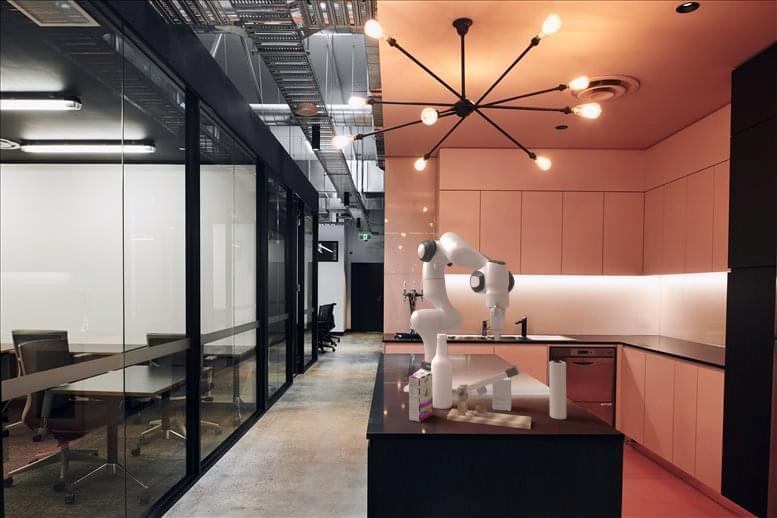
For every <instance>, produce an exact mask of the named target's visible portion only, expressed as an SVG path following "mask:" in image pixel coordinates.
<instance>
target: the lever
mask: <svg viewBox="0 0 777 518" xmlns="http://www.w3.org/2000/svg"><path fill="white" fill-rule="evenodd" d="M519 374H520V370H519V368H518V367H517V365H512V366H509V367H507V368H505V371H503V372H500V373H497V374H494V375H492V376H489V377H487V378H484V379H481V380H479V381H476V382H474V383H472V384H467V385H468V386H466V393H468V394H469V393H471V392H473V391H476V392H477V395H478V397H480V396H483V395H485V394H487V393H488V389H487V386H489V385H492V383H495V382H497V381H500V380H503V379H505V378H510V377H511V378H513V377H515V376H517V375H519Z"/></svg>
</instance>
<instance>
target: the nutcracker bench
mask: <svg viewBox="0 0 777 518" xmlns="http://www.w3.org/2000/svg"><path fill="white" fill-rule="evenodd" d="M468 385H469V384H463V383H459V386H457V387H456V388H457V391H456V393H457V395H456V396H457V397H456V398H457V401H456V403H457V408H451V409H450V411H449V412H448V414H447V415H446V420H448V421H453V422H454V421H456V422H463V423H464V422H465V423H473V424H481V425H490V426H499V427H506V428H507V427H508V428H516V429H517V428H518V429H525V430H527V429H528V430H531V425H532V417H531V416H525V415H524V416H523V415H516V414H507V413H498V412H497V413H496V412H489V411H488V410H487V406H486V405H485V404H484V403H482V402H481V403H477V404H476V406H475V409H474V410H469V409H468V408H469V407H468V406H469V403H468V402H469V399H468V398H469V397H468V395H469V392H468V393H466V386H468Z"/></svg>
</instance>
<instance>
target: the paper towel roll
mask: <svg viewBox="0 0 777 518" xmlns="http://www.w3.org/2000/svg"><path fill="white" fill-rule="evenodd" d="M548 362H549V363H548V364H549V367H548V368H549V370H548V371H549V376H548V377H549V379H548V381H549V387H548V389H549V417H550V418H551V419H556V420H566V419H567V362H565V361H562V360H550V361H548Z"/></svg>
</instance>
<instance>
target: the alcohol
mask: <svg viewBox="0 0 777 518" xmlns="http://www.w3.org/2000/svg"><path fill="white" fill-rule="evenodd" d="M447 346H448V344H447V333H437V350H436V356H435V357H434V359H433V360H432V363H431V373H432V388H433V391H432V392H433V409H438V410H447V409H450V408H451V409H452V406H453V362H452V360H451V358H450V357H449V354H448V355H447Z"/></svg>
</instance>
